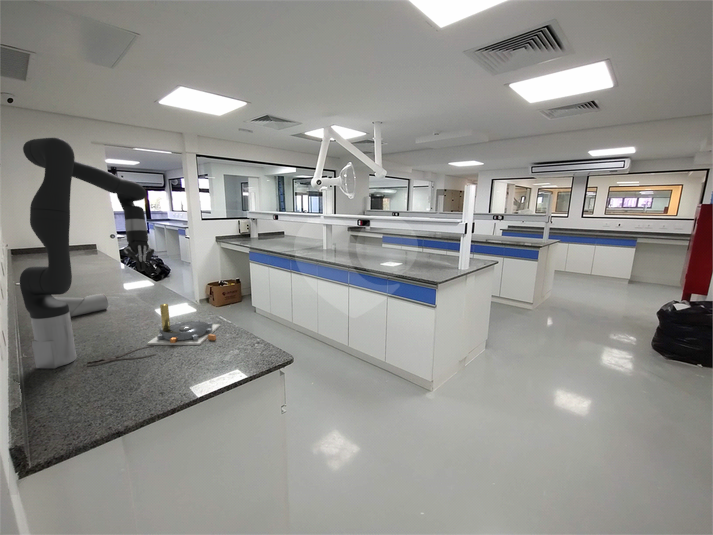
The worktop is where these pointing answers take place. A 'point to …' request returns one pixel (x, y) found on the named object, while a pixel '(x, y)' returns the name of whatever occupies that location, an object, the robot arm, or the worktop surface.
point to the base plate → (187, 342)
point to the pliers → (117, 358)
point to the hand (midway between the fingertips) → (141, 270)
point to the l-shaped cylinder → (85, 304)
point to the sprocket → (181, 328)
